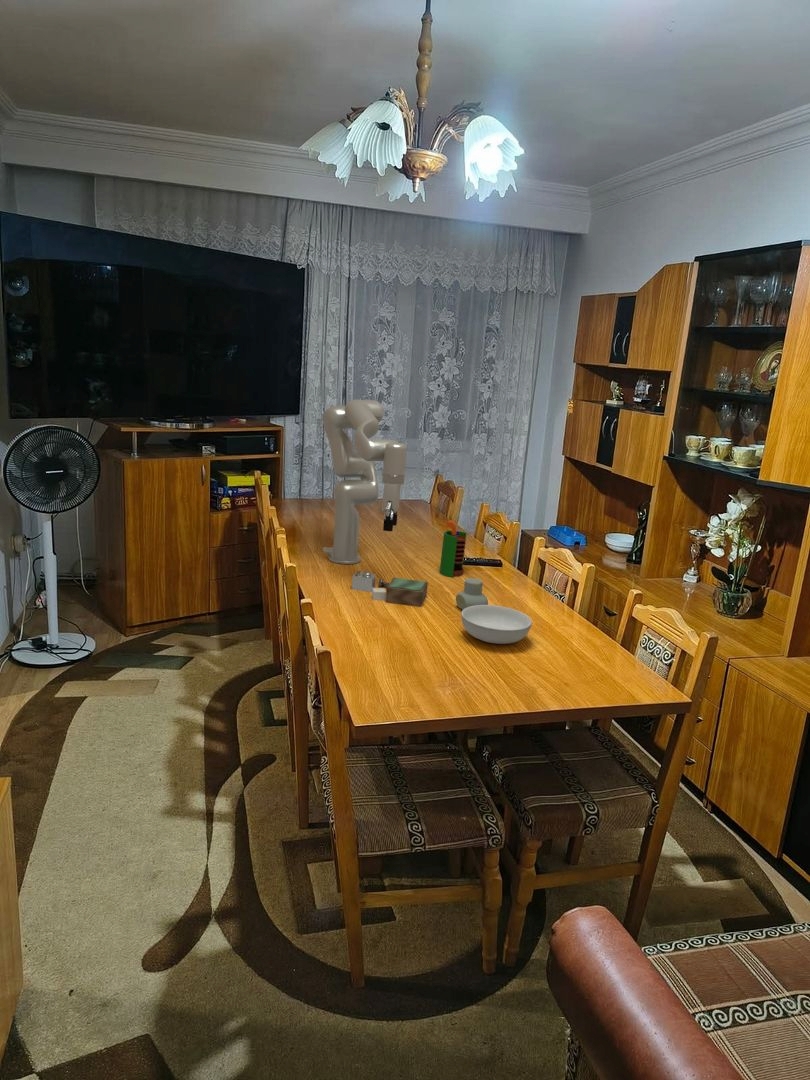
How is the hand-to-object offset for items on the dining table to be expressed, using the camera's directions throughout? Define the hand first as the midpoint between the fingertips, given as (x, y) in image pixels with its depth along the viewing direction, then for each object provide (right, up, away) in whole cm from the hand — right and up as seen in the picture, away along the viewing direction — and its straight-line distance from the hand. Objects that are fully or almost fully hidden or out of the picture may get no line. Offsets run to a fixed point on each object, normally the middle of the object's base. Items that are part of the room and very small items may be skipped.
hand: (389, 527), depth 258 cm
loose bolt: (0, -21, +4) cm, 21 cm away
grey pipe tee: (+27, -27, -12) cm, 40 cm away
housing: (-9, -21, 0) cm, 23 cm away
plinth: (+6, -24, -7) cm, 26 cm away
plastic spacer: (-4, -24, -9) cm, 26 cm away
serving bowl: (+32, -34, -36) cm, 59 cm away
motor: (+23, -17, +27) cm, 39 cm away
